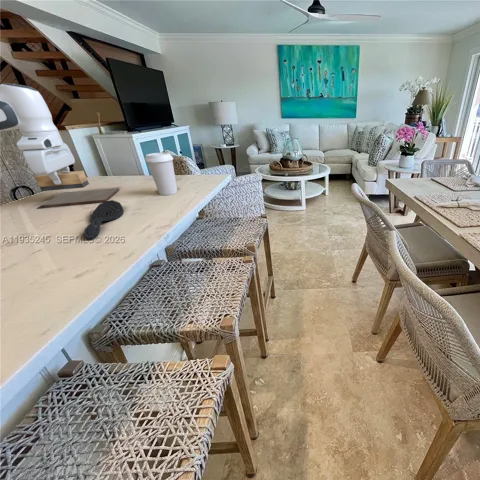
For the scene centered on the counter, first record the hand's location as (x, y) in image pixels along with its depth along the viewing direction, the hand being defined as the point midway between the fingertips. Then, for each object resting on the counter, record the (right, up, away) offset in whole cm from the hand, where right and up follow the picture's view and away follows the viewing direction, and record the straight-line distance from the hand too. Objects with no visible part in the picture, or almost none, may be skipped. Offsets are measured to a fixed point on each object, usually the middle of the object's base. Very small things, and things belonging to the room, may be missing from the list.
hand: (63, 181), depth 94 cm
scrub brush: (0, -2, +1) cm, 2 cm away
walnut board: (+1, -5, +6) cm, 8 cm away
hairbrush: (+26, -16, -14) cm, 33 cm away
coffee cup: (+30, -2, +13) cm, 33 cm away
